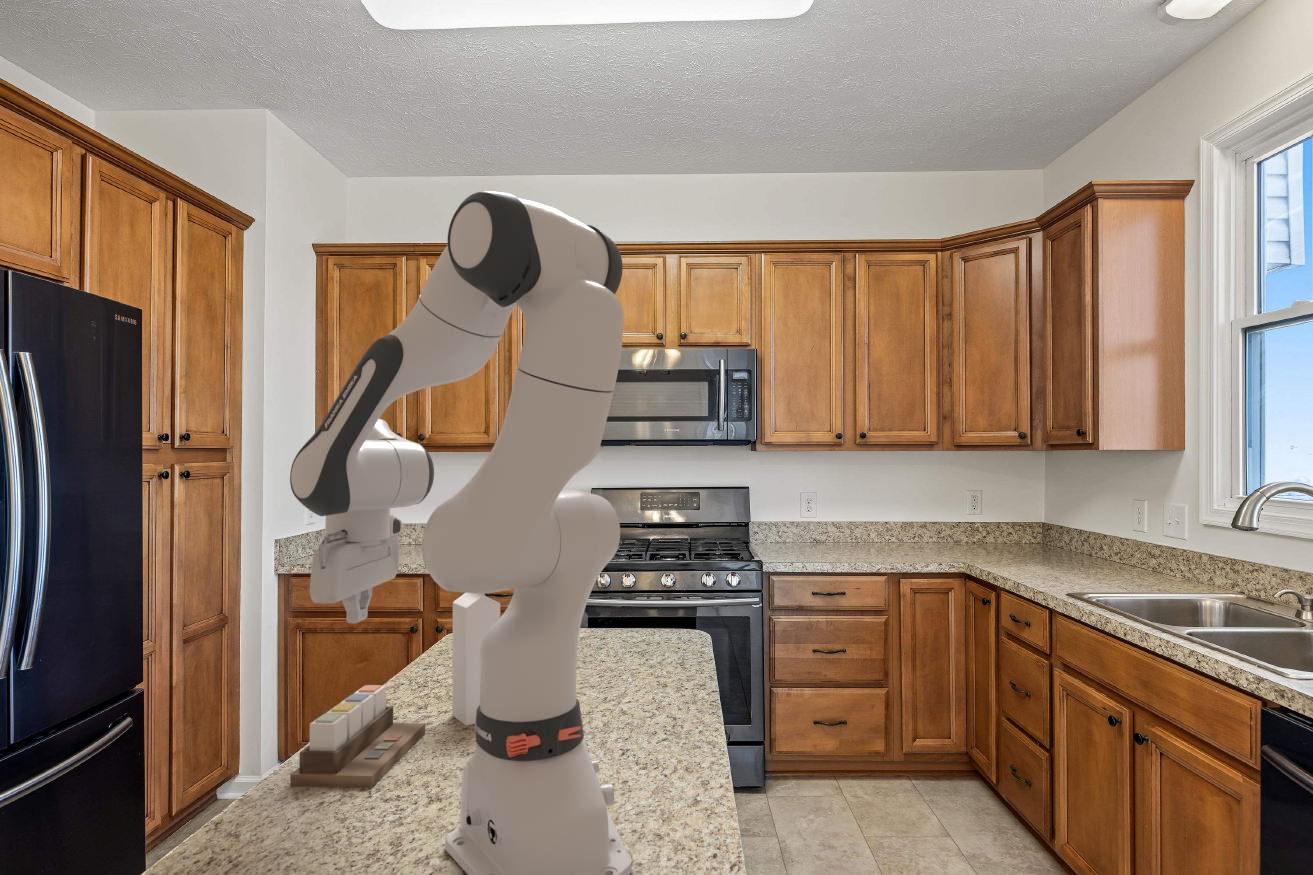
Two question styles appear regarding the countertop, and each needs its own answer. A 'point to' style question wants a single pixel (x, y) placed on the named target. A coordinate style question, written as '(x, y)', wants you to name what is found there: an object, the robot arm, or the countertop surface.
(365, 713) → the key slate
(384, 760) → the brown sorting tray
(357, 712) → the key mustard
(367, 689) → the key terracotta
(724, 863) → the countertop surface
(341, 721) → the key sage
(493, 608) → the milk
